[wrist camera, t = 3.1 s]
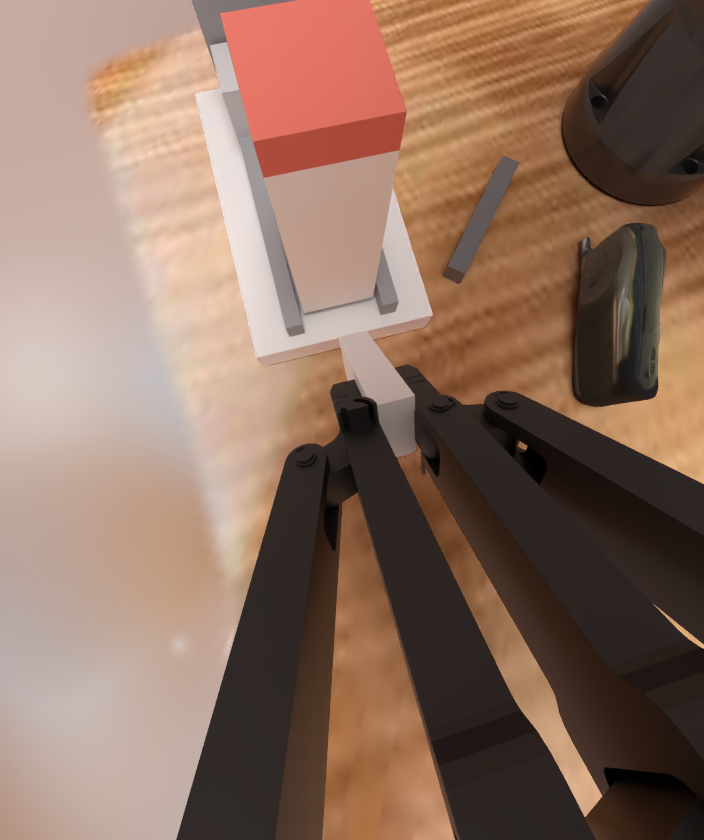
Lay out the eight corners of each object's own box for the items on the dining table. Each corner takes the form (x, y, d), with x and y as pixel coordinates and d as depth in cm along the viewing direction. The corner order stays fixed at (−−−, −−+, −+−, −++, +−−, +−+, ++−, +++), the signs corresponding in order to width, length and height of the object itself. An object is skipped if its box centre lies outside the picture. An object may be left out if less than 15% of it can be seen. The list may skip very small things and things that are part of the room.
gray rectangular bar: (492, 174, 25) (502, 155, 24) (508, 180, 25) (519, 162, 24) (441, 278, 24) (447, 265, 22) (457, 286, 24) (465, 274, 22)
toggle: (372, 297, 20) (406, 111, 9) (303, 313, 20) (252, 141, 9) (354, 234, 21) (365, -12, 10) (287, 249, 21) (220, 13, 10)
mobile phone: (673, 399, 18) (670, 193, 19) (628, 394, 18) (629, 188, 19) (601, 409, 23) (603, 245, 24) (566, 405, 23) (570, 241, 24)
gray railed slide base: (425, 326, 23) (468, 260, 15) (264, 366, 22) (219, 318, 14) (353, 94, 25) (357, -69, 17) (206, 122, 25) (141, -35, 17)
